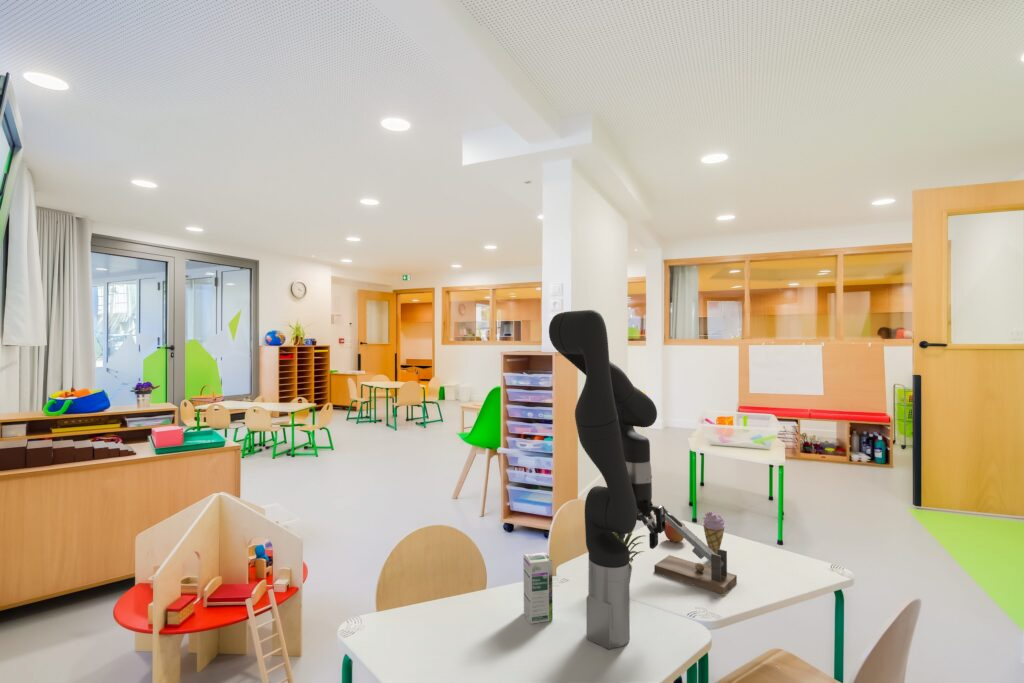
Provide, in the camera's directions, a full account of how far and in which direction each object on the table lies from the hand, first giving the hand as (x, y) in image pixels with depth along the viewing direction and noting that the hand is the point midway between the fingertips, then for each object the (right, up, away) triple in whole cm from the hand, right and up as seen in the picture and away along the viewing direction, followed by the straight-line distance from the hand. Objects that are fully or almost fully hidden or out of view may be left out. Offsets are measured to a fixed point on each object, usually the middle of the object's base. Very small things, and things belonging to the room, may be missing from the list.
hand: (637, 542), depth 120 cm
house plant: (-1, -18, +12) cm, 21 cm away
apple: (+25, -19, +47) cm, 56 cm away
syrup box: (-25, -17, -2) cm, 30 cm away
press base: (+22, -18, +20) cm, 34 cm away
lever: (+20, -9, +22) cm, 31 cm away
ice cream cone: (+33, -19, +33) cm, 50 cm away
